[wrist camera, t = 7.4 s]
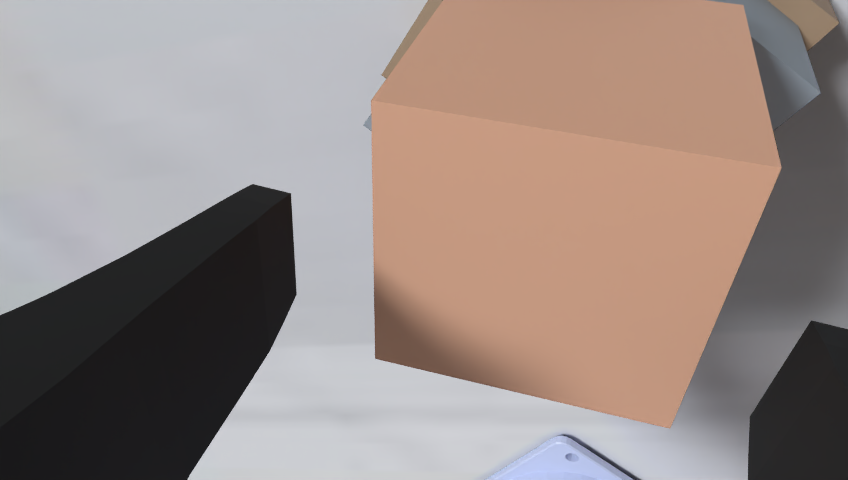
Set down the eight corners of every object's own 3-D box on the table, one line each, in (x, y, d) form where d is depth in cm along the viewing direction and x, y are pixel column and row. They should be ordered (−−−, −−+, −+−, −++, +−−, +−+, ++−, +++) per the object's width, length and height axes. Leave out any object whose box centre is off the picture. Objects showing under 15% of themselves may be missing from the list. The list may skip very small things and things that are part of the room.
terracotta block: (743, 4, 11) (782, 167, 7) (669, 229, 14) (670, 428, 10) (465, -30, 12) (371, 100, 8) (449, 188, 15) (375, 358, 11)
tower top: (798, 25, 14) (820, 93, 12) (597, 204, 18) (585, 281, 16) (562, -169, 13) (538, -136, 11) (405, 65, 17) (363, 125, 15)
